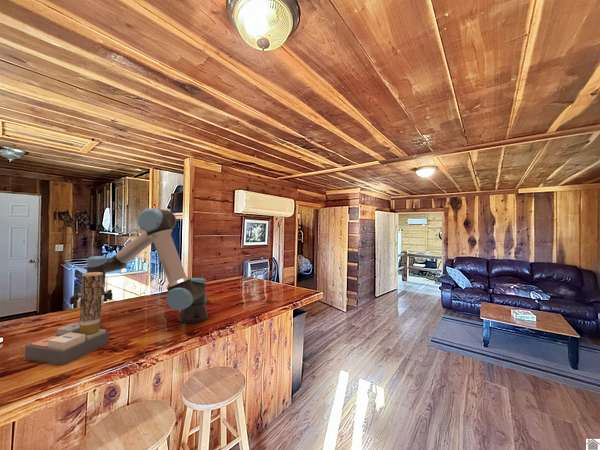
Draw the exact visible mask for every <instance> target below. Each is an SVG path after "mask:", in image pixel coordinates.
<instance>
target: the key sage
mask: <svg viewBox="0 0 600 450" xmlns="http://www.w3.org/2000/svg"><path fill="white" fill-rule="evenodd" d="M106 331H107V329H104V328H100V330H99V331H98V332H96V333H93V334H88V335H85V340H90V339H92V338H95V337H97V336H100V335H102V334H104V333H106ZM79 334H80V333H79Z"/></svg>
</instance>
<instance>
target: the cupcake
mask: <svg viewBox="0 0 600 450" xmlns="http://www.w3.org/2000/svg"><path fill="white" fill-rule="evenodd" d="M209 298H210V294H209V292H207V291H205V304H206V303H207V301H208V299H209Z"/></svg>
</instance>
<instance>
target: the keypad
mask: <svg viewBox="0 0 600 450" xmlns="http://www.w3.org/2000/svg"><path fill="white" fill-rule="evenodd" d="M53 336H57V334H54V335H53ZM30 344H31V343H29V344H26V345H25V349H24V359H25V360H29V361H35V362H42V363H48V364H53V365H59V366H64V365H66V364H69V363H70V362H72V361H74V360H77V359H79V358H81V357H83V356H85V355H88V354H89V353H93V352H94V351H96V350H97V349H101V348H103V347H104V346H106V345H108V344H110V331H107V330H106V333H104V334H102V335H100V336H97V337H95V338H92V339H90V340H85V342H83V343H81V344H78V345H76V346H74V347H71V348H69V349H67V350H64V351H62V350H56V349H49V348H48V347H46V348H43V347H37V346H30Z"/></svg>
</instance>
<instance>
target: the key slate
mask: <svg viewBox="0 0 600 450" xmlns="http://www.w3.org/2000/svg"><path fill="white" fill-rule="evenodd" d="M79 327H80V322H77V321H76V322H73V323H70V324H66V325H64V326H62V327H58V328H56V335H57V336H62V335H64V334H67V333H70V332H72V333H79Z"/></svg>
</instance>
